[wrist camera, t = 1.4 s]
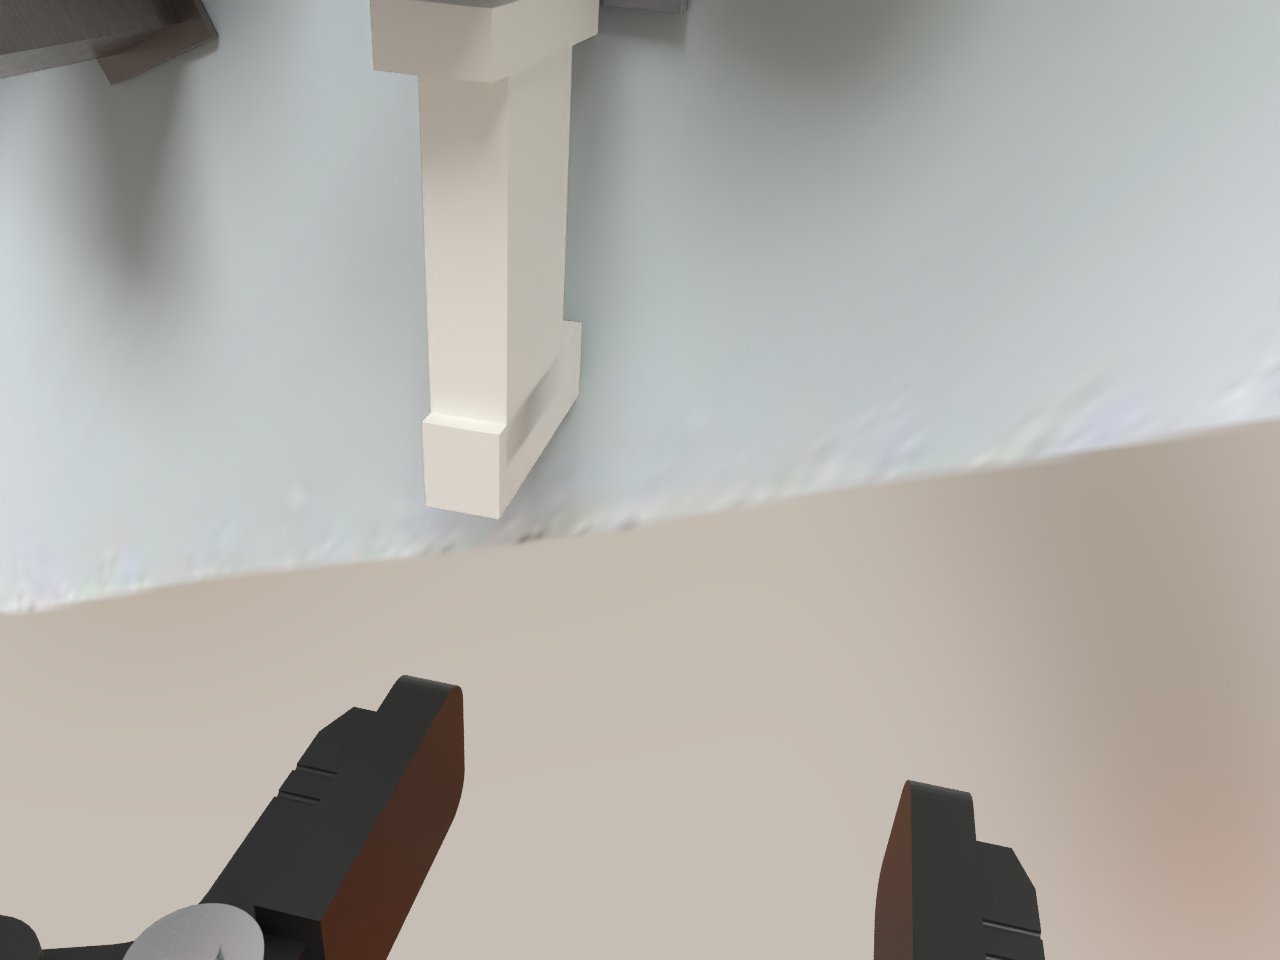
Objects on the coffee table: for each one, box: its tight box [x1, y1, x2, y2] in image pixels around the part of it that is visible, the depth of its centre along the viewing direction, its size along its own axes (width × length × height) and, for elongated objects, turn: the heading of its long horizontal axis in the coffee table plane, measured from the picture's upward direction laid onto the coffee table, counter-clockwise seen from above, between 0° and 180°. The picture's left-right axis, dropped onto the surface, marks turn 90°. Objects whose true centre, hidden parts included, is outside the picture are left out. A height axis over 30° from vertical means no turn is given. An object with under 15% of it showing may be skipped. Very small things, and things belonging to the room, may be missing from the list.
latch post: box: [0, 0, 218, 85], centre depth 24 cm, size 4×4×7 cm
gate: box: [370, 0, 599, 519], centre depth 24 cm, size 11×2×8 cm, turn 176°
